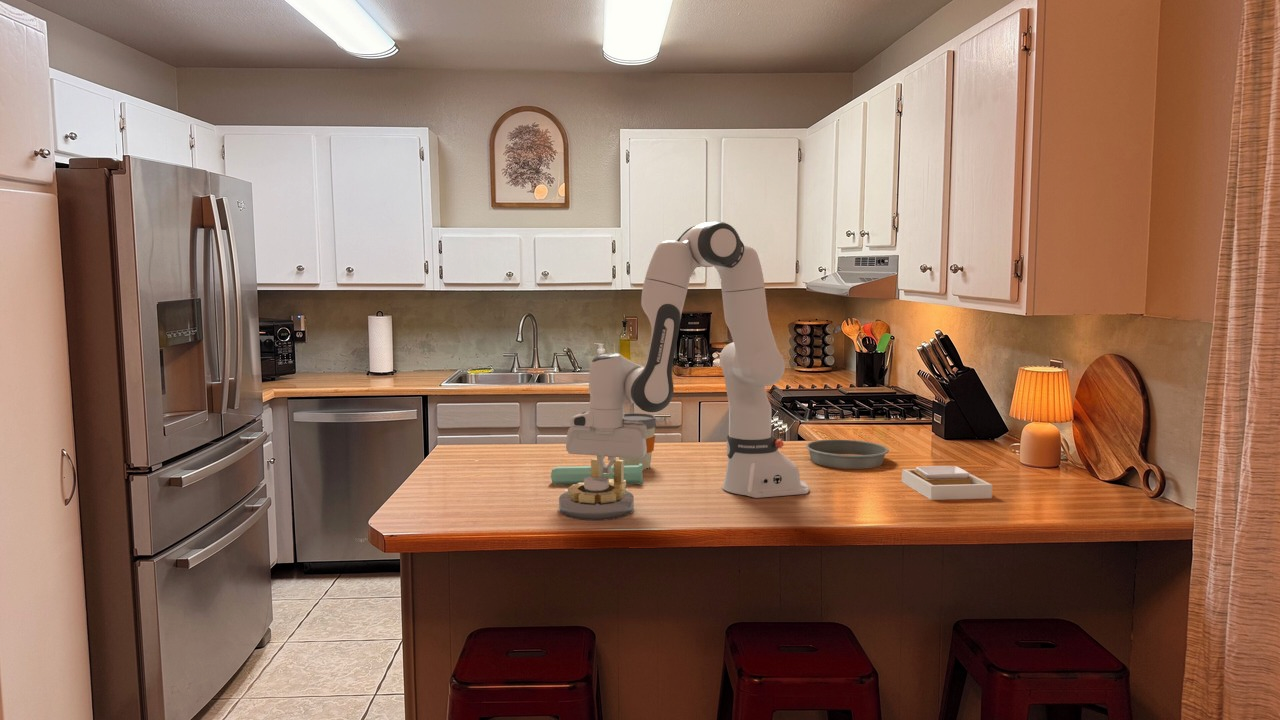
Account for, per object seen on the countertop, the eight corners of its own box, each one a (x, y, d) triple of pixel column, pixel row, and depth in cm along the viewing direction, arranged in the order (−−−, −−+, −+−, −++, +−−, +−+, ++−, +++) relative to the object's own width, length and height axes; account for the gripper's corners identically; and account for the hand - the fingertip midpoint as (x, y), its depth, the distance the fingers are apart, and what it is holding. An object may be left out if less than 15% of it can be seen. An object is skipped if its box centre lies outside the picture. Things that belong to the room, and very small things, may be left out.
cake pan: (898, 470, 237) (899, 455, 236) (813, 470, 237) (813, 455, 237) (876, 452, 261) (876, 438, 261) (799, 452, 262) (799, 438, 261)
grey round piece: (630, 498, 207) (630, 469, 207) (636, 519, 190) (636, 487, 189) (559, 500, 206) (559, 470, 205) (559, 521, 188) (558, 489, 187)
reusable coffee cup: (662, 469, 238) (662, 418, 236) (622, 473, 233) (622, 421, 232) (646, 460, 250) (646, 412, 248) (607, 464, 245) (607, 414, 243)
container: (549, 463, 220) (642, 461, 220) (552, 466, 226) (642, 465, 226) (549, 485, 219) (642, 483, 218) (551, 488, 224) (642, 486, 224)
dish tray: (957, 480, 225) (958, 468, 224) (991, 498, 207) (992, 484, 206) (901, 482, 223) (902, 469, 223) (930, 499, 205) (931, 486, 205)
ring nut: (613, 505, 189) (613, 475, 188) (560, 500, 193) (559, 471, 192) (635, 487, 205) (635, 459, 204) (585, 483, 209) (585, 456, 208)
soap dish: (957, 483, 223) (958, 465, 222) (972, 492, 213) (973, 473, 212) (912, 483, 222) (912, 465, 222) (925, 493, 213) (926, 474, 212)
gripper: (650, 418, 203) (649, 473, 205) (572, 414, 208) (572, 467, 210) (643, 423, 197) (643, 479, 198) (563, 418, 202) (563, 473, 204)
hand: (606, 473), depth 204 cm, fingers closed, pressing on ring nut
